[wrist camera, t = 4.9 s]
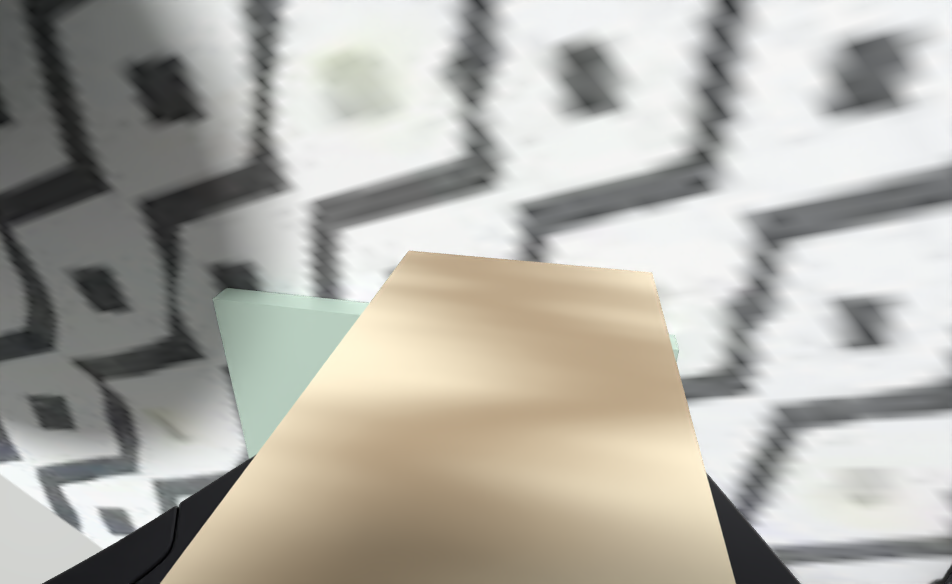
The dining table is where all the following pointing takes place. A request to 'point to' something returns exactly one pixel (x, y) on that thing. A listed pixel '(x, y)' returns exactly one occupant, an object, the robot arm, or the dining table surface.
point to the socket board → (280, 350)
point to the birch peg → (480, 444)
